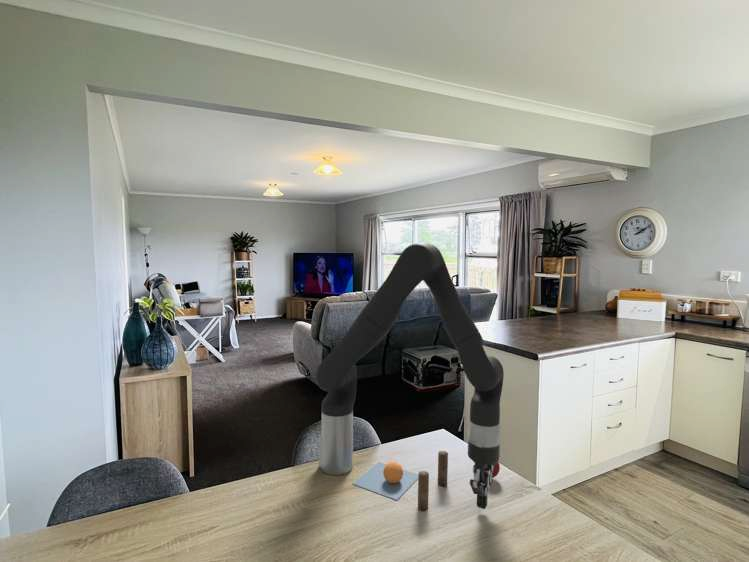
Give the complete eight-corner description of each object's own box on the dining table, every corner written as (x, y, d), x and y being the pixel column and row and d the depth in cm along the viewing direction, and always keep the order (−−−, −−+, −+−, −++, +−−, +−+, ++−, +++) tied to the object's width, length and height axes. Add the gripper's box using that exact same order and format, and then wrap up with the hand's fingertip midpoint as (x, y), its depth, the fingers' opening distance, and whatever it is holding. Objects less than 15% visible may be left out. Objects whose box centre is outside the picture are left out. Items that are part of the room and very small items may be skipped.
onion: (500, 486, 116) (501, 458, 115) (478, 483, 117) (479, 455, 116) (498, 474, 121) (499, 448, 121) (477, 472, 123) (478, 446, 122)
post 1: (416, 509, 105) (416, 474, 104) (420, 503, 107) (421, 469, 107) (425, 512, 104) (426, 477, 103) (429, 507, 106) (430, 472, 105)
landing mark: (352, 484, 116) (352, 483, 116) (378, 462, 128) (378, 461, 128) (397, 500, 109) (397, 499, 109) (420, 475, 120) (420, 475, 120)
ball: (391, 465, 114) (400, 484, 113) (401, 456, 118) (409, 475, 117) (376, 469, 117) (384, 489, 116) (386, 461, 121) (394, 479, 120)
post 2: (436, 485, 116) (436, 453, 115) (439, 480, 118) (440, 450, 117) (445, 488, 114) (445, 456, 114) (448, 483, 117) (449, 452, 116)
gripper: (477, 425, 110) (475, 489, 112) (459, 445, 99) (457, 515, 100) (506, 432, 106) (504, 498, 108) (491, 454, 95) (489, 527, 96)
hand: (481, 506), depth 104 cm, fingers closed
